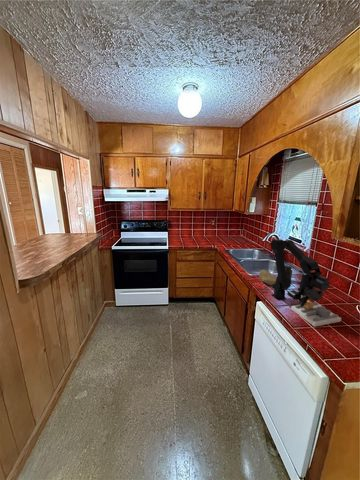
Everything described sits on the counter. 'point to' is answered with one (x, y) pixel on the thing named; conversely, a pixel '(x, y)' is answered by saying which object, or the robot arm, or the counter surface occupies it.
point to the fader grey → (322, 311)
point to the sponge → (267, 277)
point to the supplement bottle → (288, 271)
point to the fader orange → (308, 305)
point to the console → (315, 315)
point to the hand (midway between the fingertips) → (301, 306)
